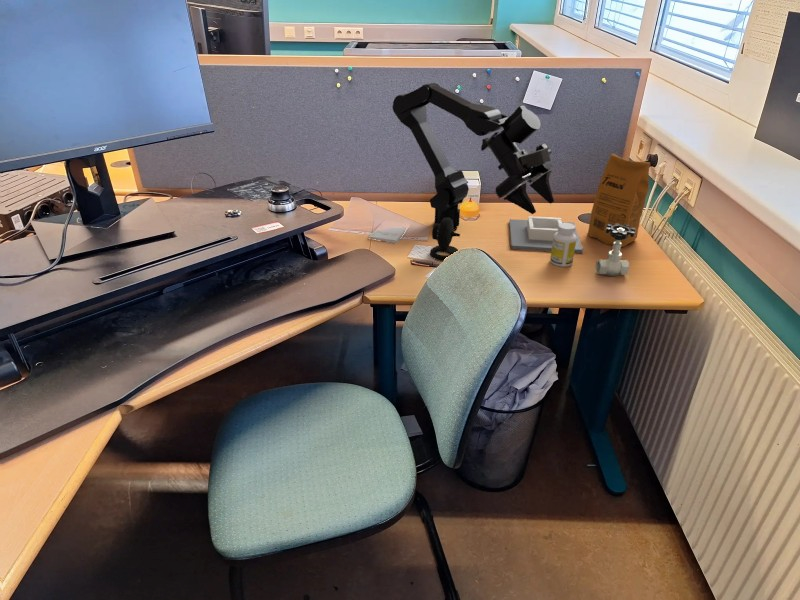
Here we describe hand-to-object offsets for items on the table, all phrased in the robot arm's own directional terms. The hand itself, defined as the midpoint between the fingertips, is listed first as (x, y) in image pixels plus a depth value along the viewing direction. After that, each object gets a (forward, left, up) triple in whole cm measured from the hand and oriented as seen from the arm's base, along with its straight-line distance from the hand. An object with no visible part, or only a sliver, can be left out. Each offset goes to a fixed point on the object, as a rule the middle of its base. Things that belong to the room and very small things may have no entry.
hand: (543, 207), depth 133 cm
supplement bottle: (+6, -4, -13) cm, 15 cm away
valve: (+17, -9, -13) cm, 23 cm away
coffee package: (+21, +13, -13) cm, 28 cm away
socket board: (+3, +11, -13) cm, 17 cm away
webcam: (-23, -4, -13) cm, 27 cm away
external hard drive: (-39, +8, -13) cm, 42 cm away
